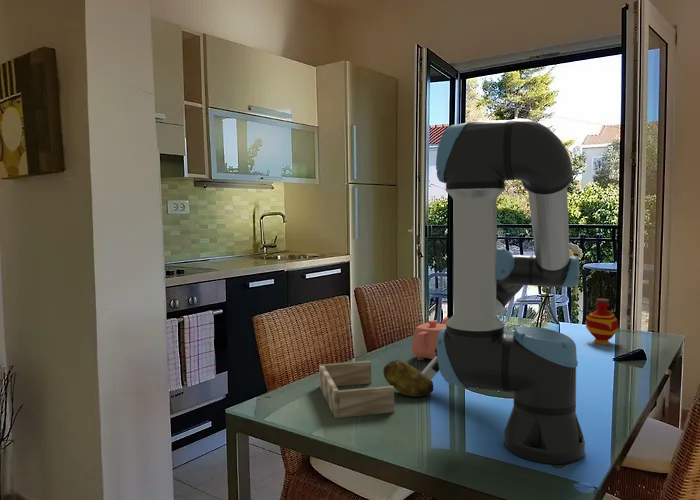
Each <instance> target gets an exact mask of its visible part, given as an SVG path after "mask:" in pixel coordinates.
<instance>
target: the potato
mask: <svg viewBox="0 0 700 500" xmlns="http://www.w3.org/2000/svg"><path fill="white" fill-rule="evenodd" d="M421 372H422V371H419V369H417V368H416V367H414V366H412V365H410V364H409V363H408V362H406V361H403V360H397V359H396V360H392V361H390V362H388V363H387V364H385V366H384V368H383V377H384V379H385V381H386V382H387V384H389V386H393V387H394V390H396V391H398V392H399V393H400V394H401V395H404V396H408V397H415V398H416V397H426V396H428V395H430V394H431V393H432V392H433V391H434V382H433V380H432V379H430V378H429V377H427V376H426V375H424V374H423V373H421Z"/></svg>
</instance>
